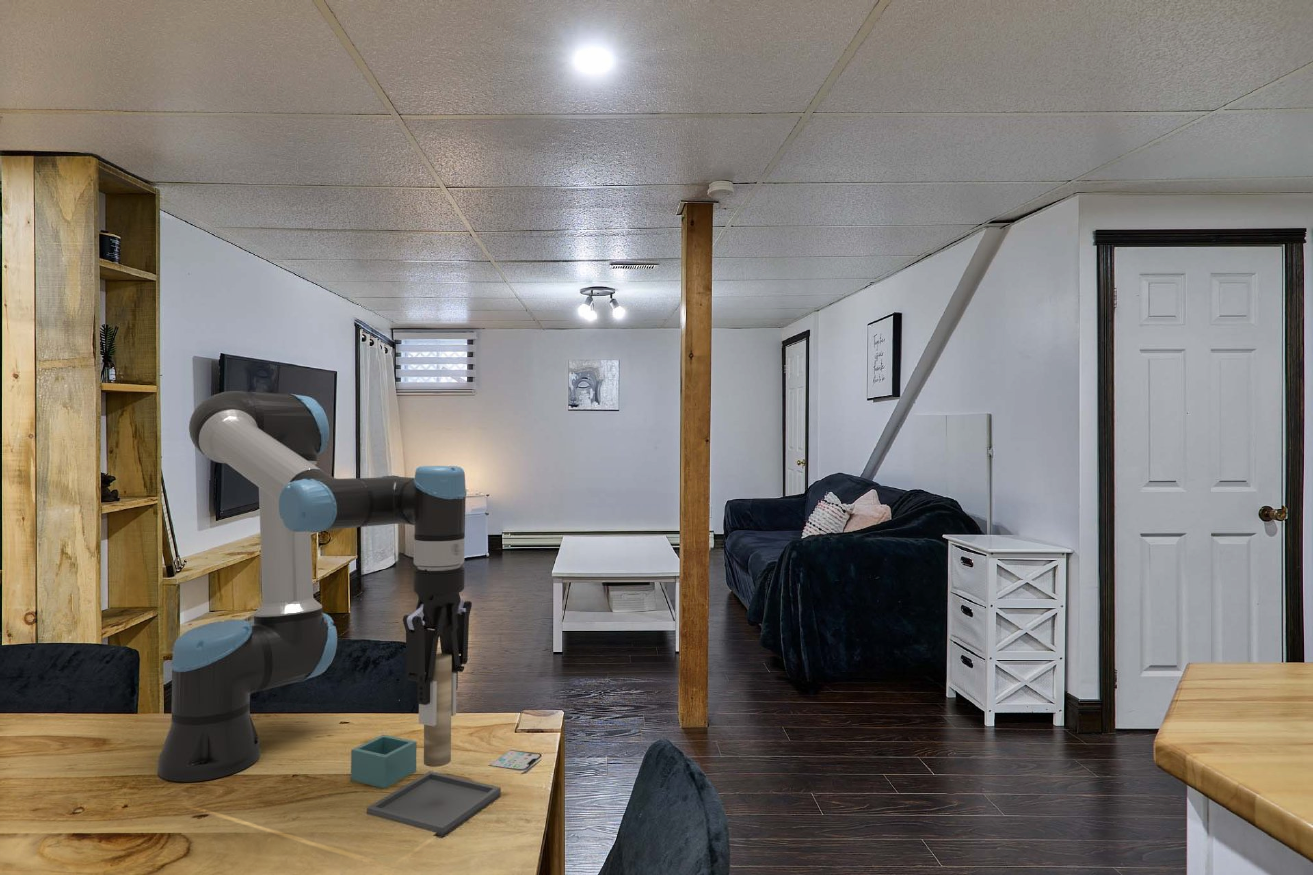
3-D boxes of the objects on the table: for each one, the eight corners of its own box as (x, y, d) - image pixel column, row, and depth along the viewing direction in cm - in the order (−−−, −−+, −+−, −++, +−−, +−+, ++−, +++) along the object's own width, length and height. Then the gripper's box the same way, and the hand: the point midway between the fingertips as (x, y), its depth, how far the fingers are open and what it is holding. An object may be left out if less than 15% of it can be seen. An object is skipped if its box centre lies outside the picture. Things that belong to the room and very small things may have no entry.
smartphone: (469, 744, 140) (543, 753, 136) (469, 751, 140) (543, 759, 136) (446, 760, 133) (524, 770, 129) (446, 767, 133) (524, 777, 129)
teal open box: (350, 783, 125) (351, 749, 125) (382, 766, 131) (383, 734, 131) (384, 792, 122) (385, 757, 122) (416, 774, 128) (416, 741, 128)
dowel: (418, 764, 116) (419, 658, 116) (435, 754, 120) (436, 652, 120) (439, 768, 114) (440, 661, 115) (456, 758, 118) (457, 655, 118)
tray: (366, 817, 114) (366, 807, 114) (429, 779, 126) (429, 771, 126) (442, 838, 108) (442, 828, 108) (500, 796, 121) (500, 787, 121)
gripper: (421, 576, 108) (419, 742, 108) (492, 560, 124) (491, 705, 123) (380, 572, 111) (378, 734, 111) (455, 557, 127) (453, 698, 126)
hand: (437, 718), depth 117 cm, fingers closed on dowel, 4 cm apart
